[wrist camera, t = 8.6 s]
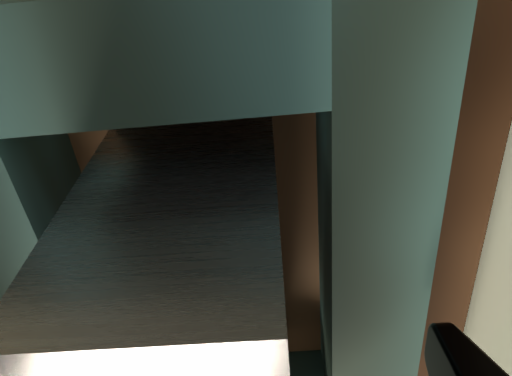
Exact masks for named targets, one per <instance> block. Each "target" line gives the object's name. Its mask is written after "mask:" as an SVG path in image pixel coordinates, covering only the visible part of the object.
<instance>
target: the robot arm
mask: <svg viewBox="0 0 512 376" xmlns="http://www.w3.org/2000/svg"><path fill="white" fill-rule="evenodd" d="M424 356H425V363H426V367H427V371H428V375H429V376H509V375H508V374H507V373H506V372H505V371H504V370H503V369H502V368H501V367H500V366H498V365H497V364H496V363H495V362H494V361H493V360H492V359H491V358H490V357H489V356H488V355H487V354H486V353H485V352H483V351H482V350H481V349H480V348H479V347H478V346H477V345H476V344H475V343H474V342H473V341H472V340H471V339H470V338H468V337H467V336H466V335H465V334H464V333H463V332H462V331H461V330H460V329H459V328H458V327H457V326H456V325H454V324H453V323H450V322H442V323H432V324H430V325H429V327H428V332H427V338H426V344H425V350H424Z"/></svg>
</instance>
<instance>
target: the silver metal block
mask: <svg viewBox="0 0 512 376" xmlns="http://www.w3.org/2000/svg"><path fill="white" fill-rule="evenodd" d="M0 376H290V362H289V348H288V334H287V320H286V306H285V292H284V278H283V264H282V250H281V236H280V222H279V209H278V195H277V181H276V167H275V153H274V139H273V125H272V116H267V117H255V118H243V119H232V120H220V121H208V122H196V123H184V124H172V125H160V126H148V127H136V128H124V129H113V130H109V131H108V132H107V134H106V135H105V137H104V139H103V140H102V142H101V143H100V145H99V146H98V148H97V149H96V151H95V153H94V154H93V156H92V157H91V159H90V160H89V162H88V164H87V165H86V167H85V168H84V170H83V171H82V173H81V175H80V176H79V178H78V179H77V181H76V182H75V184H74V185H73V187H72V189H71V190H70V192H69V193H68V195H67V196H66V198H65V200H64V201H63V203H62V204H61V206H60V207H59V209H58V211H57V212H56V214H55V215H54V217H53V218H52V220H51V222H50V223H49V225H48V226H47V228H46V229H45V231H44V232H43V234H42V236H41V237H40V239H39V240H38V242H37V243H36V245H35V247H34V248H33V250H32V251H31V253H30V254H29V256H28V258H27V259H26V261H25V262H24V264H23V265H22V267H21V268H20V270H19V272H18V273H17V275H16V276H15V278H14V279H13V281H12V283H11V284H10V286H9V287H8V289H7V290H6V292H5V294H4V295H3V297H2V298H1V300H0Z"/></svg>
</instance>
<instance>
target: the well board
mask: <svg viewBox="0 0 512 376" xmlns="http://www.w3.org/2000/svg"><path fill="white" fill-rule="evenodd" d="M267 116H272V125H273V139H274V153H275V167H276V181H277V195H278V209H279V222H280V236H281V250H282V264H283V278H284V292H285V306H286V320H287V334H288V348H289V362H290V376H429V375H428V371H427V367H426V363H425V356H424V350H425V344H426V338H427V332H428V327H429V325H430V324H432V323H442V322H450V323H453V324H454V325H456V326H457V327H458V328H459V329H460V330H461V331H462V332H463V330H464V326H465V322H466V317H467V313H468V309H469V304H470V300H471V295H472V291H473V287H474V282H475V278H476V274H477V269H478V265H479V260H480V256H481V252H482V247H483V243H484V239H485V234H486V230H487V225H488V221H489V217H490V212H491V208H492V204H493V199H494V195H495V191H496V186H497V182H498V177H499V173H500V169H501V164H502V160H503V156H504V151H505V147H506V142H507V138H508V134H509V129H510V125H511V121H512V0H0V300H1V298H2V297H3V295H4V294H5V292H6V290H7V289H8V287H9V286H10V284H11V283H12V281H13V279H14V278H15V276H16V275H17V273H18V272H19V270H20V268H21V267H22V265H23V264H24V262H25V261H26V259H27V258H28V256H29V254H30V253H31V251H32V250H33V248H34V247H35V245H36V243H37V242H38V240H39V239H40V237H41V236H42V234H43V232H44V231H45V229H46V228H47V226H48V225H49V223H50V222H51V220H52V218H53V217H54V215H55V214H56V212H57V211H58V209H59V207H60V206H61V204H62V203H63V201H64V200H65V198H66V196H67V195H68V193H69V192H70V190H71V189H72V187H73V185H74V184H75V182H76V181H77V179H78V178H79V176H80V175H81V173H82V171H83V170H84V168H85V167H86V165H87V164H88V162H89V160H90V159H91V157H92V156H93V154H94V153H95V151H96V149H97V148H98V146H99V145H100V143H101V142H102V140H103V139H104V137H105V135H106V134H107V132H108V131H109V130H113V129H124V128H136V127H148V126H160V125H172V124H184V123H196V122H208V121H220V120H232V119H243V118H255V117H267Z"/></svg>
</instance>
